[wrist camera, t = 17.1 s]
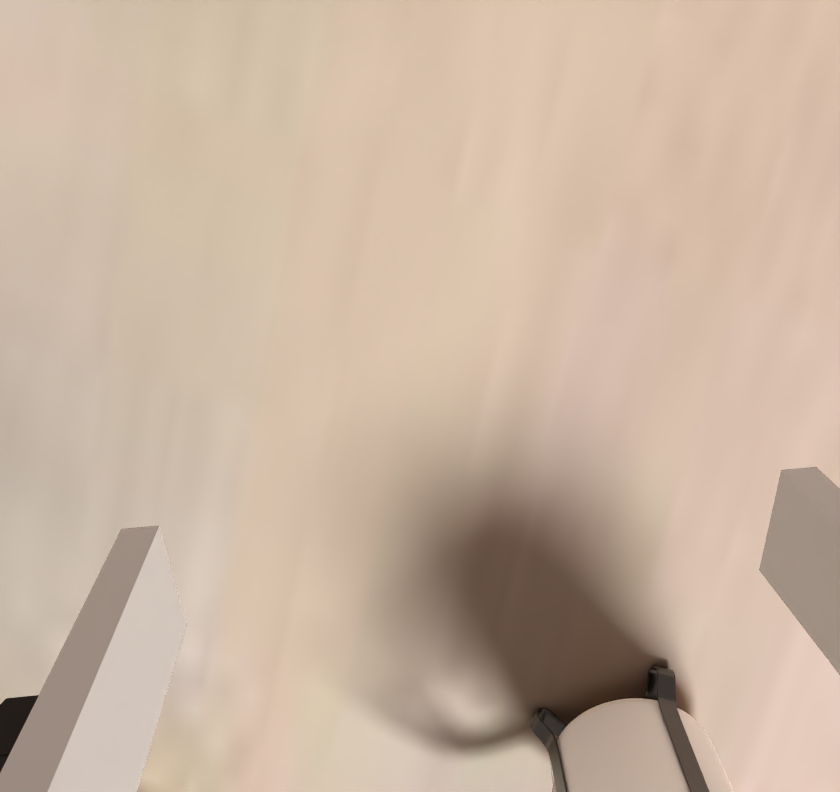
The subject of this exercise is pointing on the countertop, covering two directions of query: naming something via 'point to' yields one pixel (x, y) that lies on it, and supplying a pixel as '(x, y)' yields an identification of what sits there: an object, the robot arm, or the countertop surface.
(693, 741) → the coffee press
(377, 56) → the countertop surface
